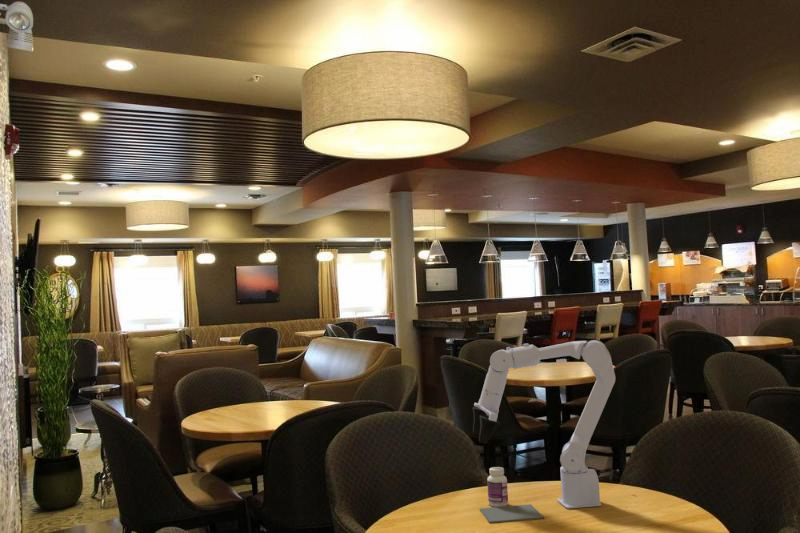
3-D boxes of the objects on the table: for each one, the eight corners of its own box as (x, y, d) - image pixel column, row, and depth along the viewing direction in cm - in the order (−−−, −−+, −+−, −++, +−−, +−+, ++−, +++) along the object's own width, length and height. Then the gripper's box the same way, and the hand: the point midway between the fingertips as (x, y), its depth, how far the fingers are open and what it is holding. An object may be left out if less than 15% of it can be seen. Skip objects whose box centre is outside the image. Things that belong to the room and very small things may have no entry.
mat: (530, 505, 179) (530, 504, 179) (544, 518, 168) (544, 516, 168) (479, 510, 177) (479, 508, 177) (489, 523, 166) (489, 521, 166)
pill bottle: (507, 507, 178) (505, 471, 179) (487, 507, 179) (485, 471, 180) (508, 501, 183) (506, 466, 184) (489, 501, 184) (487, 466, 185)
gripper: (473, 382, 193) (461, 426, 194) (485, 394, 179) (471, 443, 179) (496, 387, 194) (484, 432, 194) (509, 401, 179) (496, 449, 180)
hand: (479, 438), depth 187 cm, fingers open, 7 cm apart
